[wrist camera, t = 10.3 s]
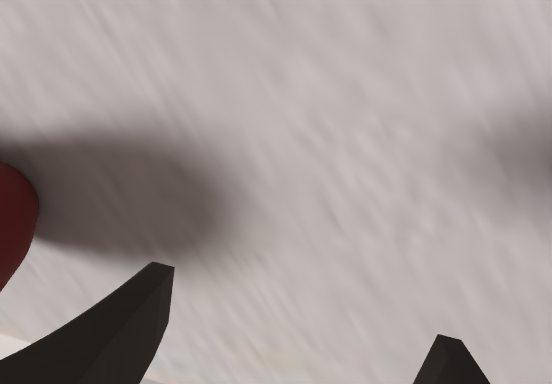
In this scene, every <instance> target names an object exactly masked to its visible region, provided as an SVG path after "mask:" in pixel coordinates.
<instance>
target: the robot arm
mask: <svg viewBox="0 0 552 384" xmlns="http://www.w3.org/2000/svg"><path fill="white" fill-rule="evenodd" d="M174 268H175V267H172V266H168V265H164V264H160V263H156V262H151V263H150V264H148V265H147V266H146V267H144V268H143V269H142V270H141V271H139V272H138V273H137V274H136V275H134V276H133V277H132V278H131V279H129V280H128V281H127V282H125V283H124V284H123V285H122V286H120V287H119V288H118V289H116V290H115V291H114V292H112V293H111V294H109V295H108V296H107V297H105V298H104V299H103V300H101V301H100V302H98V303H97V304H96V305H94V306H93V307H91V308H90V309H88V310H87V311H85V312H84V313H82V314H81V315H79V316H78V317H76V318H75V319H73V320H72V321H70V322H68V323H67V324H65V325H64V326H62V327H61V328H59V329H57V330H56V331H54V332H52V333H51V334H49V335H47V336H45V337H44V338H42V339H40V340H38V341H37V342H35V343H33V344H31V345H29V346H27V347H26V348H24V349H22V350H20V351H18V352H16V353H14V354H12V355H10V356H8V357H6V358H4V359H2V360H0V384H139V383H140V381H141V380H142V378H143V376H144V374H145V372H146V371H147V369H148V367H149V365H150V363H151V362H152V360H153V358H154V356H155V354H156V351H157V349H158V347H159V344H160V342H161V339H162V337H163V334H164V332H165V330H166V327H167V325H168V321H169V312H170V303H171V295H172V286H173V277H174ZM413 384H490V382H489V381H488V379H487V378H486V376H485V375H484V373H483V372H482V370H481V369H480V367H479V366H478V364H477V363H476V361H475V360H474V358H473V357H472V355H471V354H470V352H469V351H468V349H467V348H466V347H465V345H464V344H463V342H462V341H461V340H459V339H455V338H451V337H447V336H443V335H440V334H438V335H437V337H436V339H435V341H434V343H433V345H432V347H431V349H430V351H429V353H428V355H427V357H426V359H425V361H424V363H423V365H422V367H421V369H420V371H419V373H418V375H417V377H416V379H415V381H414V383H413Z"/></svg>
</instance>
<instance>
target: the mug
mask: <svg viewBox="0 0 552 384" xmlns="http://www.w3.org/2000/svg"><path fill="white" fill-rule="evenodd" d="M38 210H39V205H38V198H37V195H36V192H35V190H34V188H33V187H32V185H31V184H30V182H29V181H28V180H27V179H26V178H25V177H24V176H23V175H22V174H21V173H20V172H19V171H17V170H16V169H14V168H12V167H10V166H9V165H6V164H3V163H0V292H1V291H2V289H3V288H4V286H5V285H6V284H7V282H8V281H9V280H10V278H11V277H12V275H13V274H14V273H15V271H16V270H17V268H18V267H19V266H20V264H21V263H22V261H23V260H24V258H25V256H26V254H27V252H28V250H29V248H30V245H31V242H32V239H33V235H34V231H35V226H36V221H37V216H38Z"/></svg>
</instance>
